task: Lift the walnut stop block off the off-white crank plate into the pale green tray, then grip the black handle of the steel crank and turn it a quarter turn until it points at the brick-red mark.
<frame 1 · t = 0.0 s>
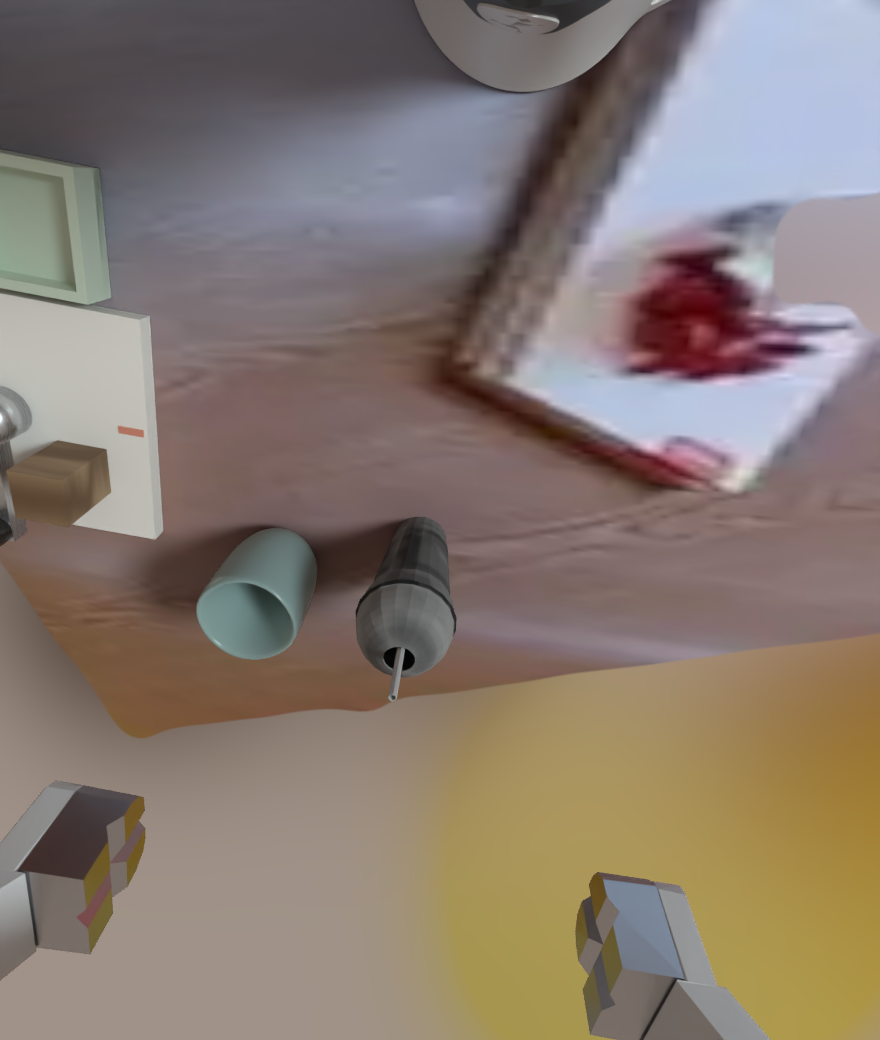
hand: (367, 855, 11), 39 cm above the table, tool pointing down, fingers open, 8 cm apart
tray: (46, 224, 42), on the table
crank plate: (66, 416, 49), on the table
cup: (284, 551, 55), on the table
stop block: (84, 466, 50), point 1 cm above the table, touching crank plate
beverage cup: (420, 538, 53), on the table
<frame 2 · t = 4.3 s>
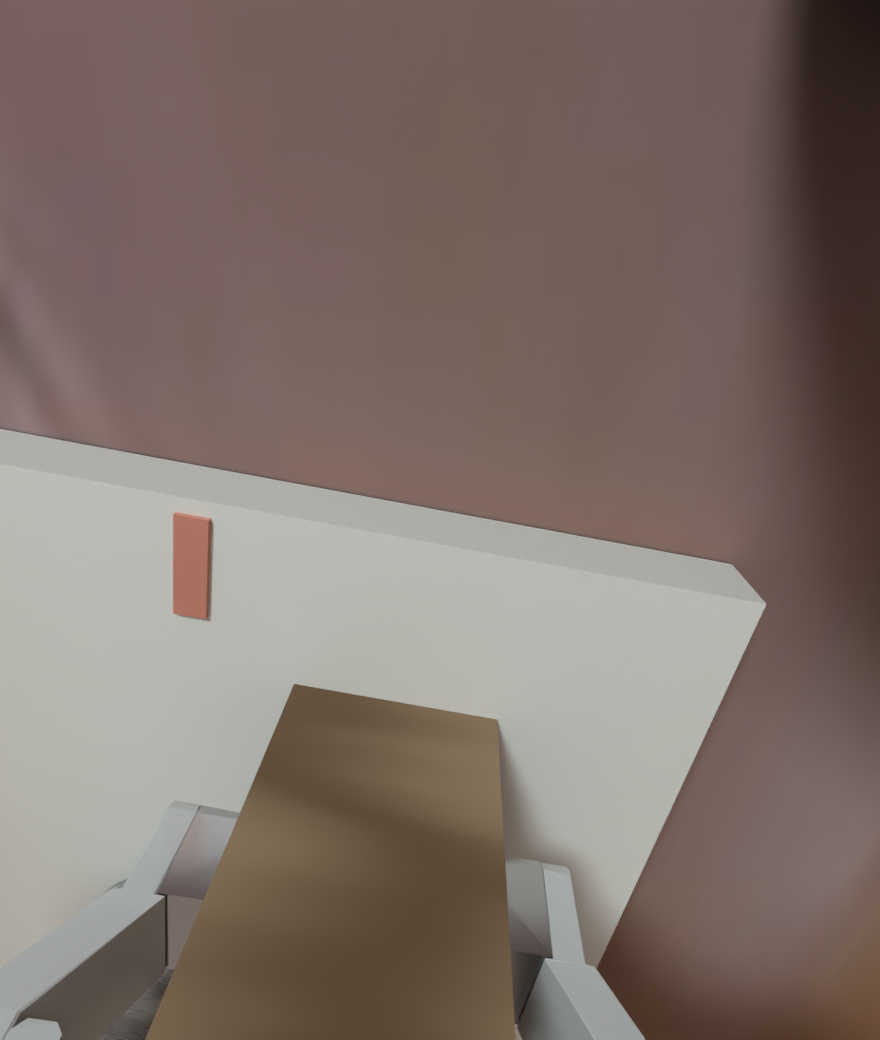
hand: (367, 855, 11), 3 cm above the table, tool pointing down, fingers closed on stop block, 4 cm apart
crank plate: (236, 764, 14), on the table
stop block: (381, 777, 12), point 1 cm above the table, touching crank plate, gripper
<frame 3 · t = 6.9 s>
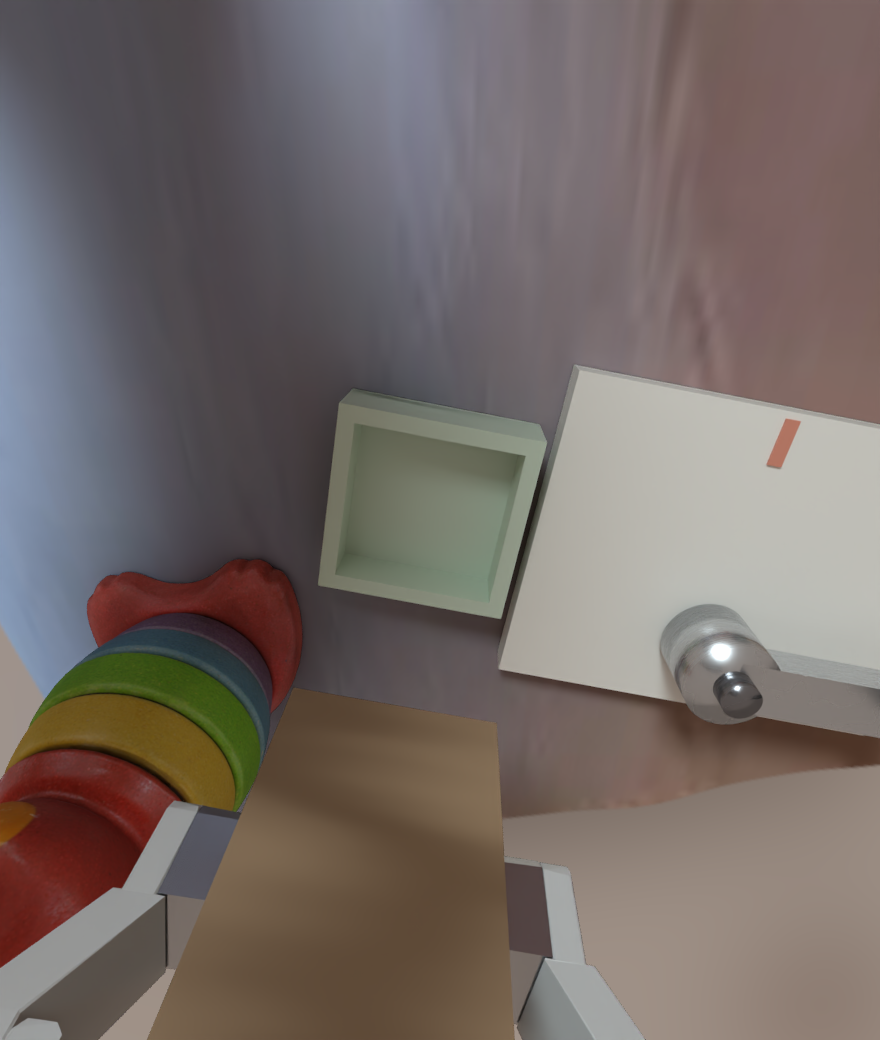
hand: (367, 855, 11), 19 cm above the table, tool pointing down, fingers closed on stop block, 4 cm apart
tray: (430, 493, 28), on the table
crank plate: (725, 559, 29), on the table
stop block: (381, 780, 12), point 17 cm above the table, touching gripper
crank: (837, 717, 25), point 6 cm above the table, hinge at 0.0°
stacking bear: (213, 644, 32), on the table
when the fingers open (5 cm above the table, at t = 10.0 s): stop block drops 2 cm, resting on tray.
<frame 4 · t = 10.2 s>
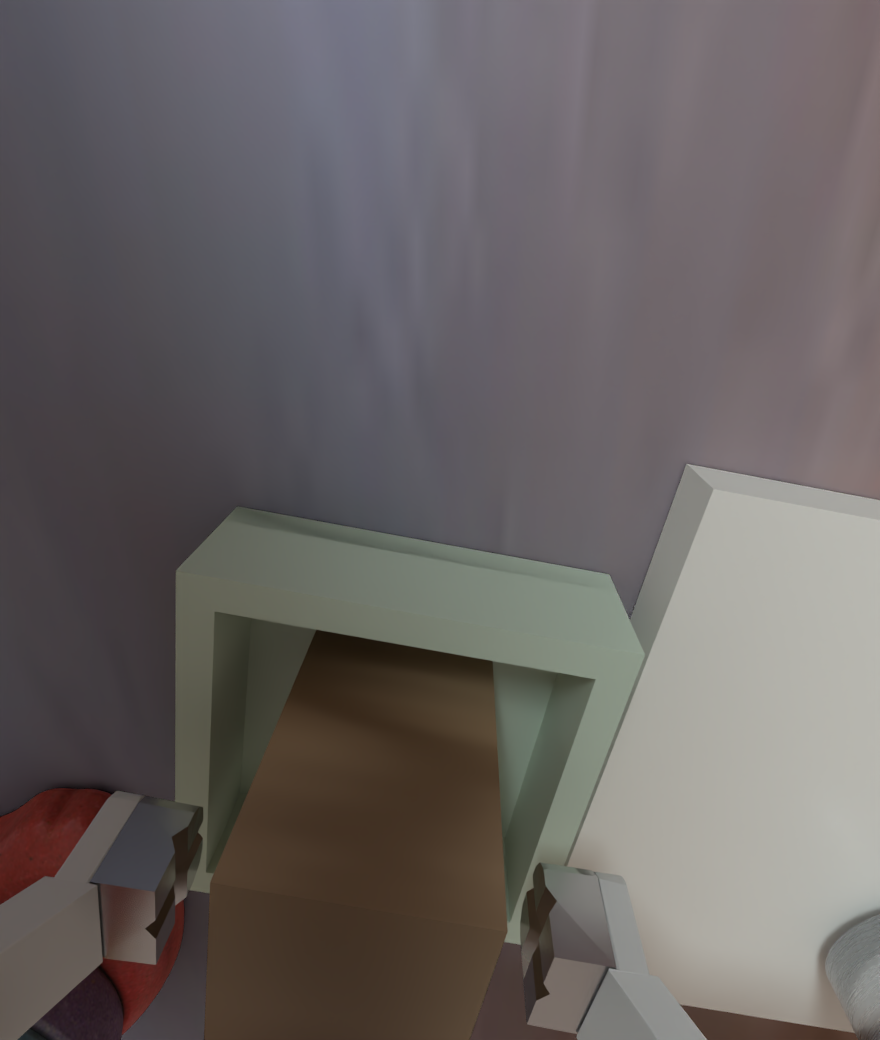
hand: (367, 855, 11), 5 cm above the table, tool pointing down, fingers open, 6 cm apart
tray: (396, 689, 15), on the table
stop block: (392, 712, 14), point 1 cm above the table, touching tray
stacking bear: (40, 900, 19), on the table
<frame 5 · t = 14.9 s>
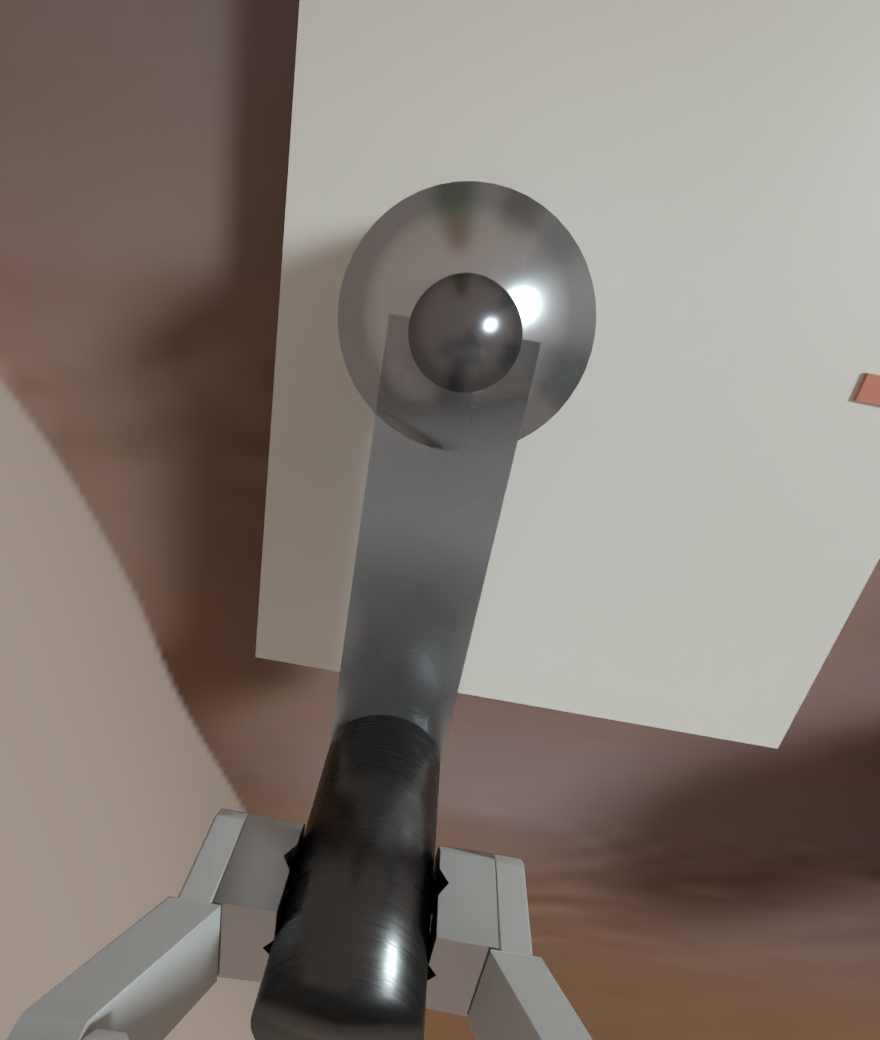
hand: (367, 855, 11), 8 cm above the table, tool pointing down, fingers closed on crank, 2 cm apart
crank plate: (605, 354, 14), on the table
crank: (418, 580, 10), point 6 cm above the table, hinge at 0.0°, touching gripper
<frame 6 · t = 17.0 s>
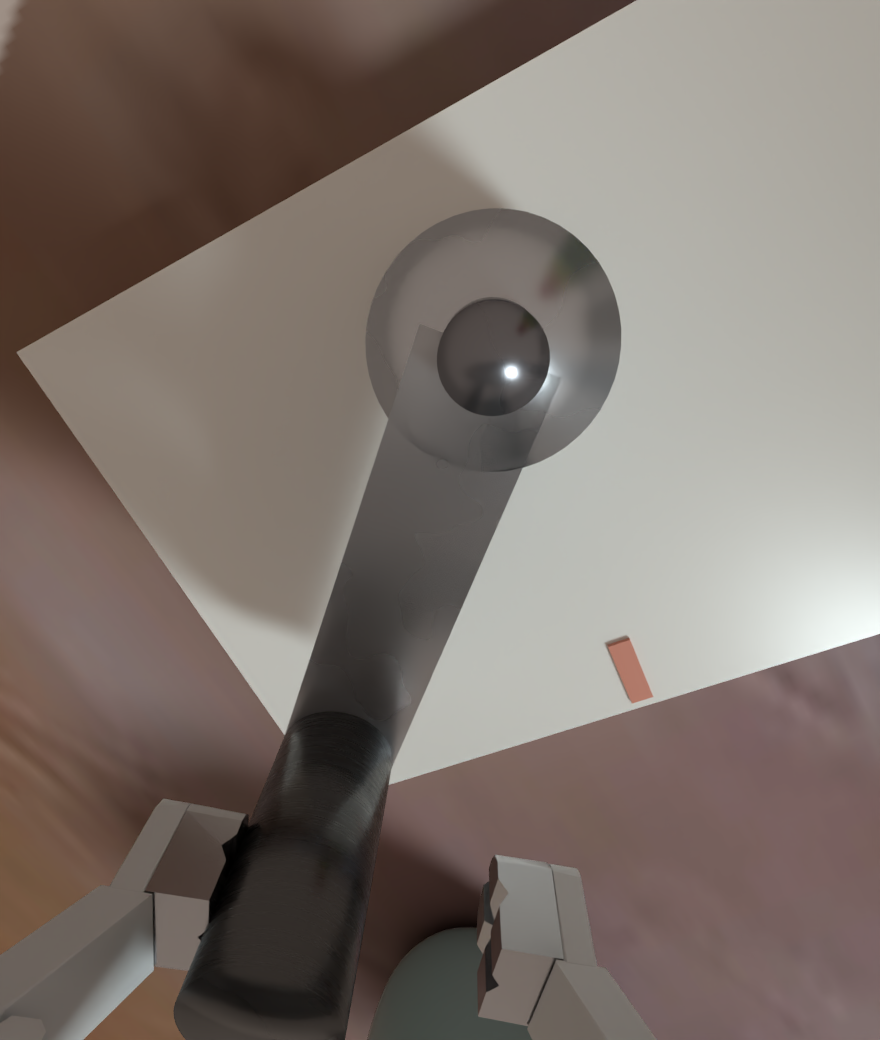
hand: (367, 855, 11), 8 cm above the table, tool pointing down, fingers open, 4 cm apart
crank plate: (522, 458, 16), on the table
cup: (473, 955, 24), on the table
crank: (404, 588, 10), point 6 cm above the table, hinge at 45.4°, touching gripper
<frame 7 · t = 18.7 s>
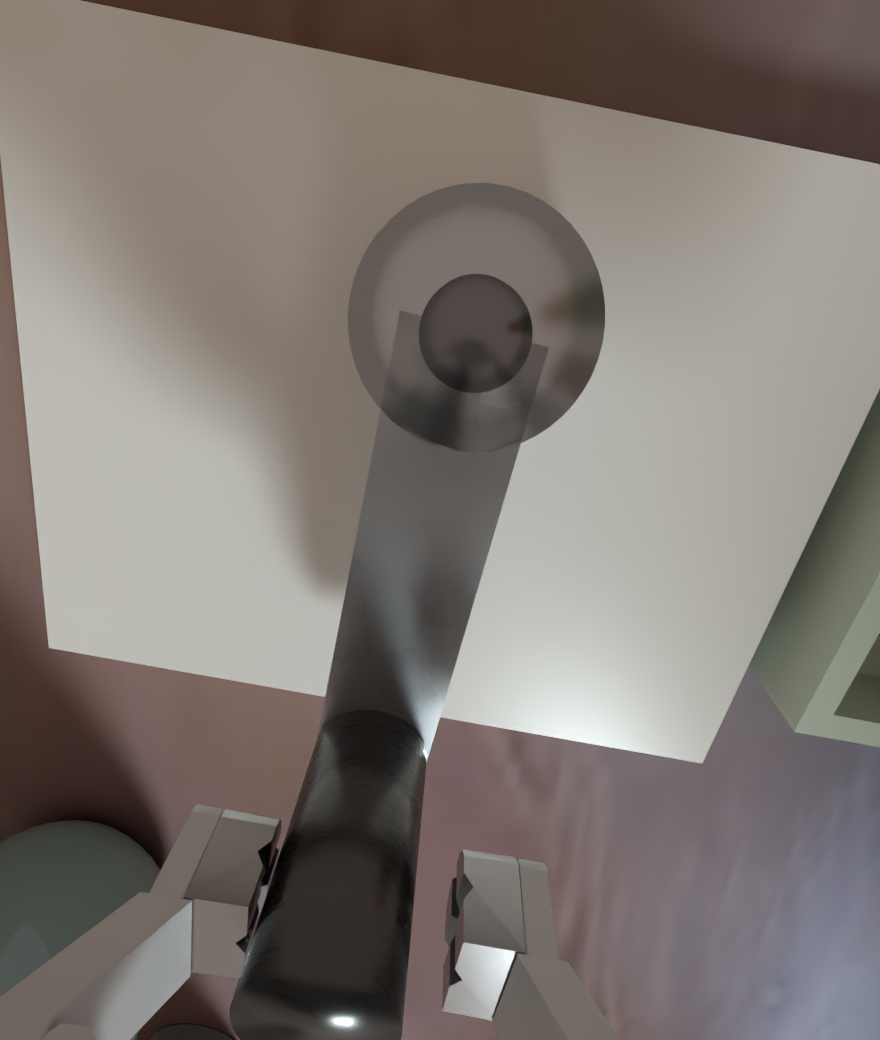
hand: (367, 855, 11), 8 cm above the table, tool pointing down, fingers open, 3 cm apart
crank plate: (428, 442, 16), on the table
cup: (101, 856, 23), on the table
crank: (415, 577, 10), point 6 cm above the table, hinge at 87.2°
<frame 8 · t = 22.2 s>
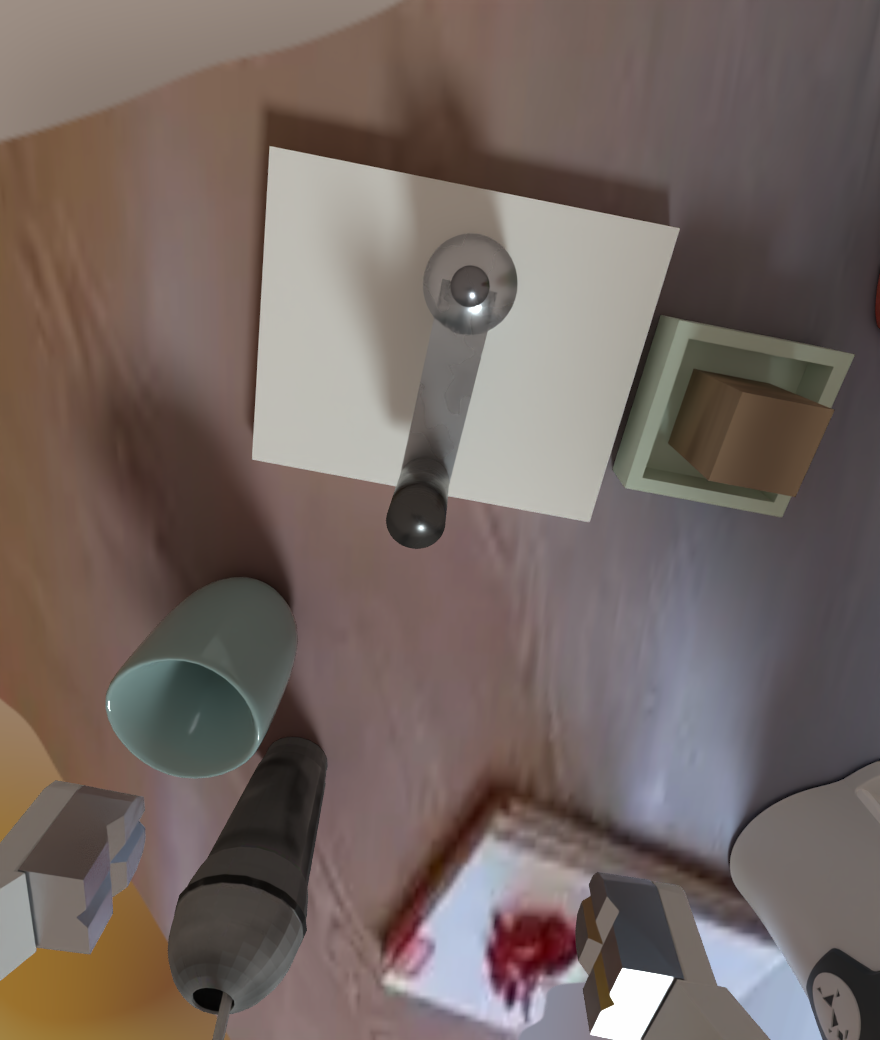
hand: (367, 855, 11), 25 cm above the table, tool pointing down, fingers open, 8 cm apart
tray: (711, 410, 32), on the table
crank plate: (447, 350, 32), on the table
cup: (252, 610, 39), on the table
stop block: (717, 413, 31), point 1 cm above the table, touching tray
beverage cup: (297, 758, 44), on the table
crank: (447, 384, 26), point 6 cm above the table, hinge at 87.2°
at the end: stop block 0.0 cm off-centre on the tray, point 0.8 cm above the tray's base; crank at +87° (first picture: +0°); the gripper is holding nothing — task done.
